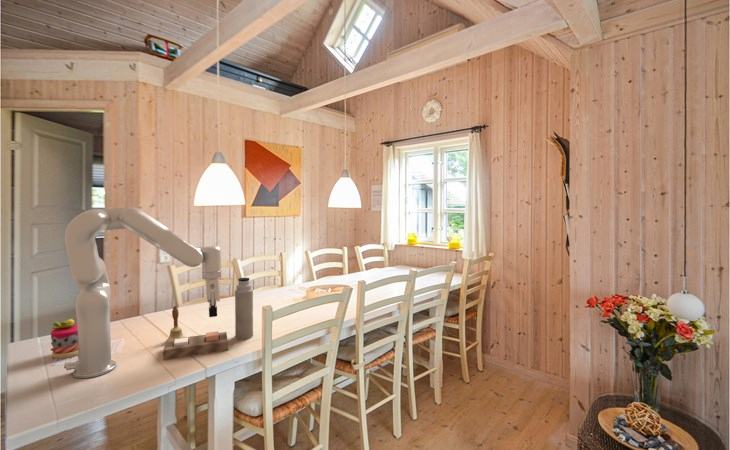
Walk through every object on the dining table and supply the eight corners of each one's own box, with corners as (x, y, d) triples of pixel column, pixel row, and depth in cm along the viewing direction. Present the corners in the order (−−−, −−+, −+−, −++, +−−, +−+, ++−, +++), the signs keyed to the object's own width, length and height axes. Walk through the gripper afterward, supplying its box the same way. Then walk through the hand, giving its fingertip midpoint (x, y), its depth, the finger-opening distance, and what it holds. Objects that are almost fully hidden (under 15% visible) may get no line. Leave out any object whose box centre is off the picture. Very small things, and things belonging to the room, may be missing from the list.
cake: (57, 351, 144) (56, 316, 143) (88, 347, 148) (87, 313, 148) (46, 362, 135) (45, 324, 134) (79, 357, 139) (78, 321, 138)
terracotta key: (206, 343, 147) (205, 336, 147) (206, 339, 151) (205, 332, 151) (218, 341, 149) (218, 335, 149) (218, 337, 153) (218, 331, 153)
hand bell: (177, 344, 153) (176, 309, 152) (161, 343, 154) (160, 308, 154) (190, 337, 161) (190, 304, 160) (175, 336, 163) (174, 303, 162)
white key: (174, 350, 142) (173, 343, 142) (175, 345, 146) (174, 339, 146) (187, 348, 144) (187, 341, 144) (188, 344, 149) (188, 337, 148)
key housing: (163, 360, 137) (163, 350, 137) (166, 348, 148) (166, 339, 148) (227, 350, 147) (227, 341, 147) (226, 340, 158) (226, 331, 158)
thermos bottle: (247, 332, 169) (247, 275, 168) (256, 336, 164) (256, 278, 162) (232, 336, 163) (231, 278, 162) (240, 341, 158) (240, 280, 156)
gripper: (221, 277, 143) (223, 320, 145) (220, 271, 157) (221, 310, 158) (202, 279, 140) (203, 323, 141) (202, 272, 154) (203, 312, 155)
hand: (213, 316), depth 150 cm, fingers closed
